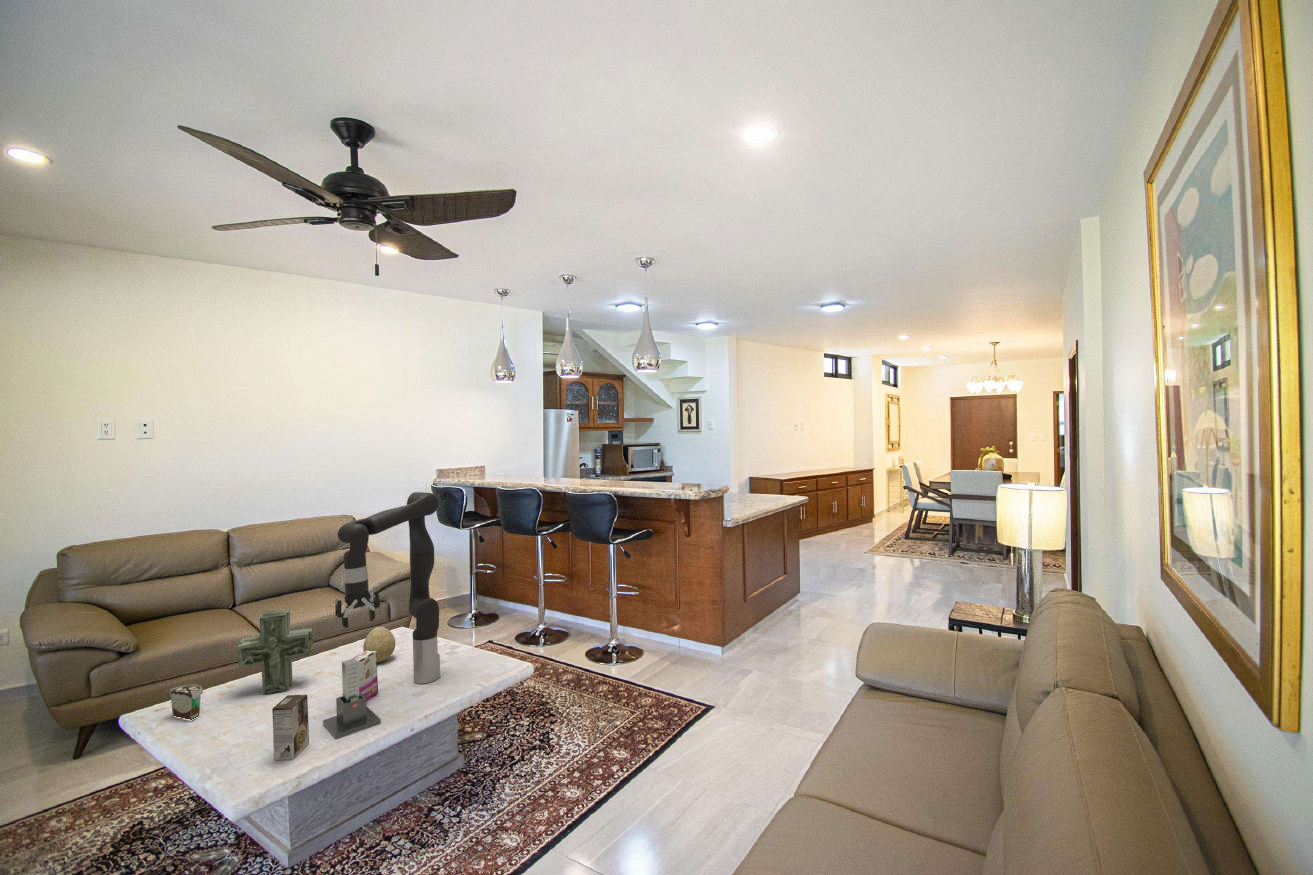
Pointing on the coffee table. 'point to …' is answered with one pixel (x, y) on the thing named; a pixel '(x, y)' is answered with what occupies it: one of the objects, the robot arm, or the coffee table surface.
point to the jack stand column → (350, 679)
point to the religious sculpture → (275, 650)
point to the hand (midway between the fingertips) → (359, 623)
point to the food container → (186, 701)
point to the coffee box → (290, 727)
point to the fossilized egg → (380, 643)
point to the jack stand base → (351, 717)
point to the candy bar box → (367, 673)
